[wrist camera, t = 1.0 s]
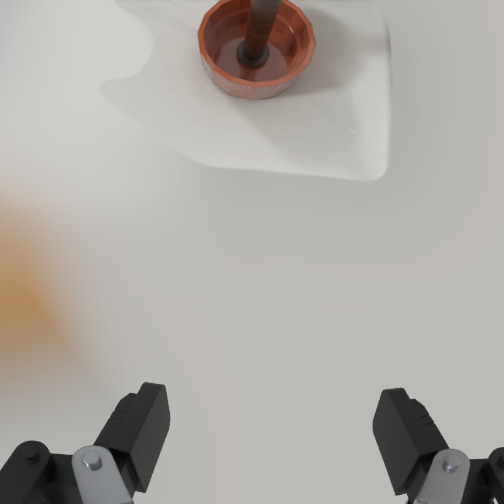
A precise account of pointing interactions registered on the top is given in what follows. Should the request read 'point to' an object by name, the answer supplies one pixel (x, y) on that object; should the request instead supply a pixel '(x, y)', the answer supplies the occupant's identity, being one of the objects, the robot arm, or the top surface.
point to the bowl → (280, 44)
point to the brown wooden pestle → (258, 33)
